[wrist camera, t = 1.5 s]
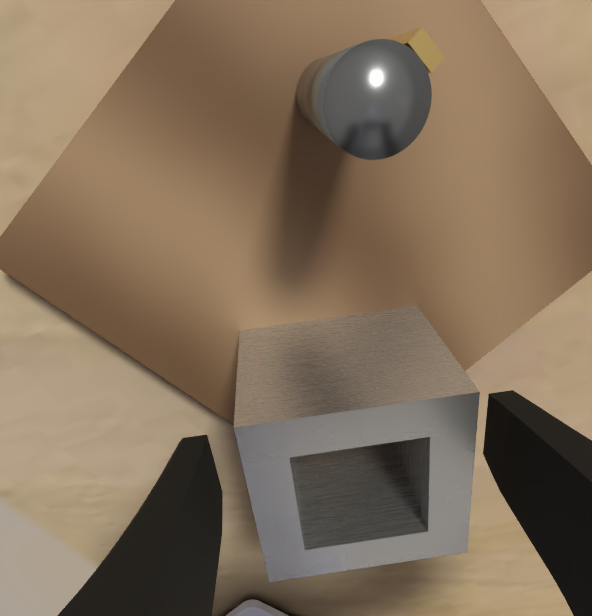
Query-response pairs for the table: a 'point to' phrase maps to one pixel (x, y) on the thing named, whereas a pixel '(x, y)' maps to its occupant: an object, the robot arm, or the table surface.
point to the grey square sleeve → (355, 442)
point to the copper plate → (302, 193)
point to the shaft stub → (371, 94)
